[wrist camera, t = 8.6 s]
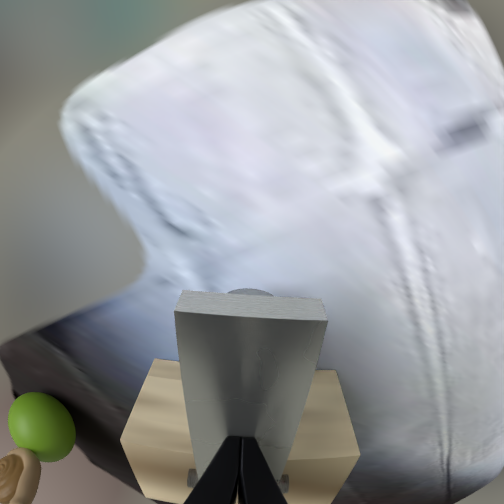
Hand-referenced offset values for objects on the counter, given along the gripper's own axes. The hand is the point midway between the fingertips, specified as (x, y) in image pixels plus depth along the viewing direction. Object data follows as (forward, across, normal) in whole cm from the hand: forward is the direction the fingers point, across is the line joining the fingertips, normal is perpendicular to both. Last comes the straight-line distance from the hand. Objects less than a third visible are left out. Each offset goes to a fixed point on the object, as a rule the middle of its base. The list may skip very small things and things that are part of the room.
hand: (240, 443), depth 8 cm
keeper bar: (+1, 0, 0) cm, 1 cm away
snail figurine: (+8, +14, +10) cm, 19 cm away
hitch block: (+8, 0, +6) cm, 10 cm away
